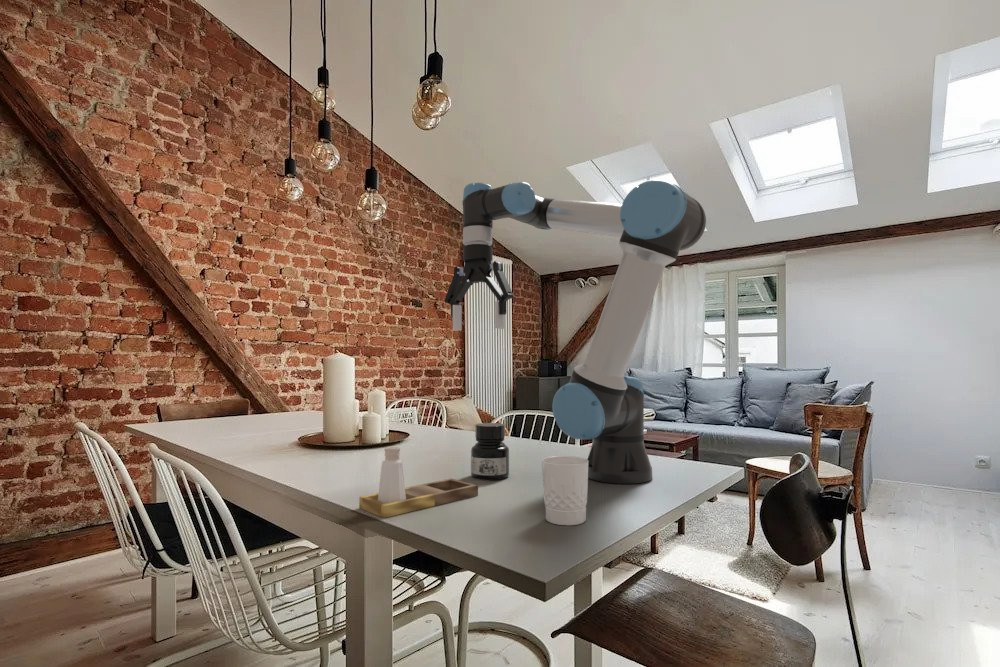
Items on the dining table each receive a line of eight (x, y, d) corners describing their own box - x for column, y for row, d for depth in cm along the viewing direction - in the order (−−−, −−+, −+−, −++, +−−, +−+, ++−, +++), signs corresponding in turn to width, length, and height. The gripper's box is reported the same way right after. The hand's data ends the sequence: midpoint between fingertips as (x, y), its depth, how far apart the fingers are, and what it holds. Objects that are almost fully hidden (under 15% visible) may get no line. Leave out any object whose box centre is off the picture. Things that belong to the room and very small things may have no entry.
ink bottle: (464, 479, 119) (464, 426, 120) (474, 471, 128) (475, 421, 128) (506, 482, 117) (506, 427, 118) (514, 473, 126) (514, 422, 126)
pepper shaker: (395, 502, 100) (396, 444, 101) (412, 508, 96) (413, 447, 97) (370, 508, 96) (371, 447, 97) (387, 514, 93) (388, 450, 93)
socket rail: (451, 488, 111) (451, 478, 111) (478, 495, 105) (478, 485, 105) (359, 507, 96) (359, 496, 97) (384, 517, 90) (384, 506, 90)
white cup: (532, 520, 89) (532, 460, 89) (559, 510, 95) (558, 454, 95) (572, 530, 84) (572, 466, 84) (597, 519, 90) (597, 459, 90)
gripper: (527, 242, 130) (527, 328, 128) (450, 254, 144) (450, 331, 143) (509, 236, 123) (509, 326, 122) (431, 249, 138) (431, 330, 137)
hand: (477, 329), depth 133 cm, fingers open, 13 cm apart
